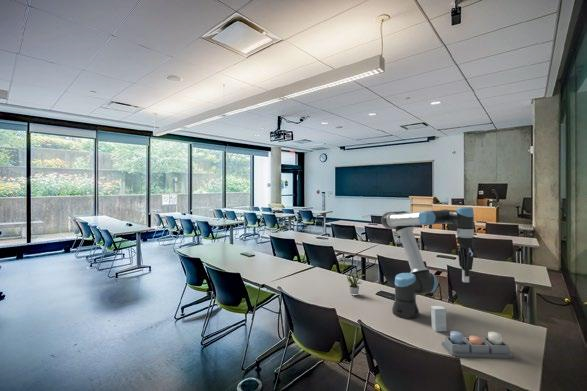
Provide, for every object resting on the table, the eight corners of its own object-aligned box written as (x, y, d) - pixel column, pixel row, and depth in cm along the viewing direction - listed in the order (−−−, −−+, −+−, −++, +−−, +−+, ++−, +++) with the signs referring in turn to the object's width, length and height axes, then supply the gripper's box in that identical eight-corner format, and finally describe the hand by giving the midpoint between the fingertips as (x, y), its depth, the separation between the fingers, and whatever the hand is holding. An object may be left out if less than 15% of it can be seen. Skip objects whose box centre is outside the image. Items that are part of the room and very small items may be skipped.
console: (441, 344, 137) (441, 335, 137) (498, 345, 135) (498, 336, 135) (451, 356, 127) (451, 346, 127) (513, 357, 125) (513, 347, 125)
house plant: (364, 291, 211) (364, 269, 211) (367, 298, 197) (367, 274, 197) (345, 291, 212) (344, 269, 212) (346, 297, 199) (346, 274, 198)
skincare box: (442, 327, 154) (441, 305, 154) (446, 331, 149) (446, 308, 149) (431, 328, 154) (430, 305, 153) (435, 331, 149) (435, 309, 149)
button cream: (485, 339, 133) (485, 331, 133) (497, 339, 133) (497, 331, 133) (492, 344, 128) (492, 337, 128) (504, 345, 128) (504, 337, 128)
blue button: (448, 338, 134) (448, 330, 134) (459, 338, 134) (459, 331, 134) (453, 344, 129) (453, 336, 129) (465, 344, 129) (465, 336, 129)
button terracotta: (466, 342, 134) (466, 335, 134) (478, 342, 133) (478, 335, 133) (473, 348, 129) (473, 341, 128) (485, 349, 128) (485, 341, 128)
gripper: (451, 234, 155) (452, 278, 155) (464, 238, 142) (464, 285, 142) (466, 234, 154) (466, 278, 154) (480, 238, 141) (480, 286, 141)
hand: (465, 281), depth 148 cm, fingers closed
